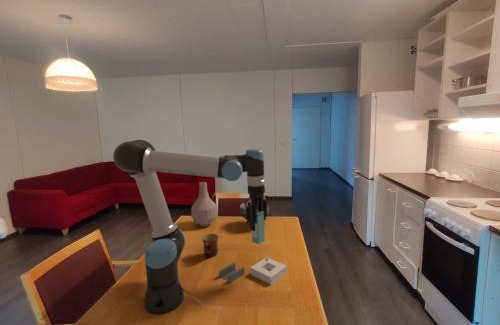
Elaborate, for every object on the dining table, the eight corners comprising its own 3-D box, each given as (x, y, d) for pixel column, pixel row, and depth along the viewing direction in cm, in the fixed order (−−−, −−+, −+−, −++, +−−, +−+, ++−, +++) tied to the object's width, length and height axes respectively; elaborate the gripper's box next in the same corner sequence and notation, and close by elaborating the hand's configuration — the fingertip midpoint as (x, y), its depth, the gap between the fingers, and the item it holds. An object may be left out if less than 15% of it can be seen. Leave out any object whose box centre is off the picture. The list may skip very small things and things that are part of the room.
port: (271, 286, 111) (271, 276, 110) (250, 275, 119) (250, 266, 118) (286, 273, 119) (286, 264, 119) (266, 264, 127) (266, 256, 127)
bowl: (239, 221, 185) (239, 201, 183) (266, 219, 188) (265, 199, 185) (241, 232, 166) (241, 210, 164) (271, 230, 168) (271, 208, 166)
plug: (259, 244, 113) (257, 214, 111) (252, 242, 116) (250, 212, 114) (265, 241, 116) (263, 211, 114) (257, 238, 119) (256, 209, 117)
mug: (206, 250, 143) (205, 233, 141) (221, 251, 141) (220, 234, 140) (197, 261, 131) (196, 242, 130) (213, 263, 130) (213, 244, 128)
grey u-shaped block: (230, 284, 112) (230, 276, 112) (219, 277, 117) (219, 270, 117) (244, 275, 119) (244, 267, 118) (233, 269, 124) (233, 262, 123)
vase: (190, 222, 184) (187, 181, 180) (213, 218, 191) (212, 179, 187) (194, 231, 168) (192, 187, 164) (220, 227, 175) (219, 184, 171)
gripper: (249, 190, 104) (251, 244, 107) (274, 181, 116) (276, 230, 120) (236, 187, 109) (239, 239, 112) (261, 179, 121) (263, 226, 125)
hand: (258, 234), depth 116 cm, fingers closed on plug, 4 cm apart
